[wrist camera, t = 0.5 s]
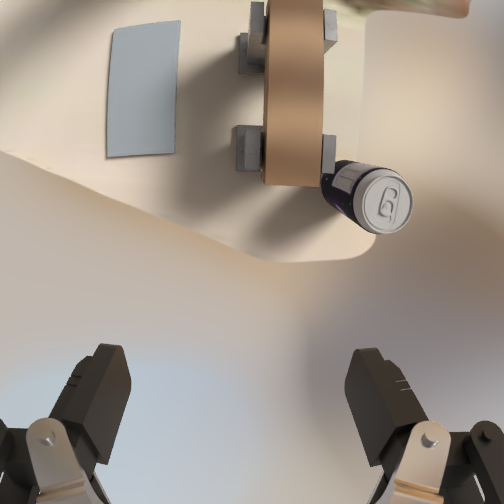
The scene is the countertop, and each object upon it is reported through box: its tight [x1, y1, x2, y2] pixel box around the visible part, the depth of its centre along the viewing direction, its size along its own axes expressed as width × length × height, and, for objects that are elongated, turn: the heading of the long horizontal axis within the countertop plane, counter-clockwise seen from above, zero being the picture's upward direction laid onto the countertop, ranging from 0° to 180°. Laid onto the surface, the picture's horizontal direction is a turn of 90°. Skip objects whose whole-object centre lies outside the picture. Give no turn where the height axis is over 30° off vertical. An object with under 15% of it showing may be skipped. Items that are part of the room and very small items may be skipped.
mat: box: [107, 20, 181, 157], centre depth 29 cm, size 16×8×1 cm, turn 178°
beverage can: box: [321, 160, 413, 234], centre depth 28 cm, size 6×6×12 cm
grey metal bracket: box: [239, 2, 337, 75], centre depth 24 cm, size 5×8×11 cm, turn 88°
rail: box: [261, 0, 324, 187], centre depth 21 cm, size 16×4×4 cm, turn 178°
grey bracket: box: [236, 125, 336, 174], centre depth 27 cm, size 5×8×11 cm, turn 88°
